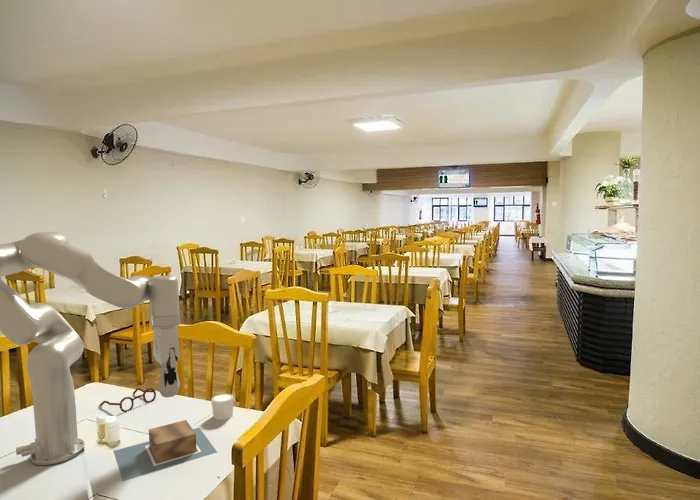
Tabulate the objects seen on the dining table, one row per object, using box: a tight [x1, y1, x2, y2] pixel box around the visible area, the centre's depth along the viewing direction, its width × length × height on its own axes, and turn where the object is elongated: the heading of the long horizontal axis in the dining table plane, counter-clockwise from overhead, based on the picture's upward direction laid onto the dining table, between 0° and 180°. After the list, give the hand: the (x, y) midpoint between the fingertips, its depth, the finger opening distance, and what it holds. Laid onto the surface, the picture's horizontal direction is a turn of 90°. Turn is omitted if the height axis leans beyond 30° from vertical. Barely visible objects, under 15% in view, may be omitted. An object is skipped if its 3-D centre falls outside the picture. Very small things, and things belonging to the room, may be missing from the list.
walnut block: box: [148, 419, 197, 463], centre depth 126 cm, size 10×10×5 cm
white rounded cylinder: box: [210, 393, 234, 421], centre depth 145 cm, size 7×7×7 cm
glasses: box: [99, 387, 157, 413], centre depth 159 cm, size 13×13×5 cm
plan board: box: [113, 427, 218, 482], centre depth 125 cm, size 23×17×1 cm
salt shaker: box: [157, 355, 181, 398], centre depth 130 cm, size 6×6×13 cm
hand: (168, 383), depth 130 cm, fingers closed on salt shaker, 3 cm apart
